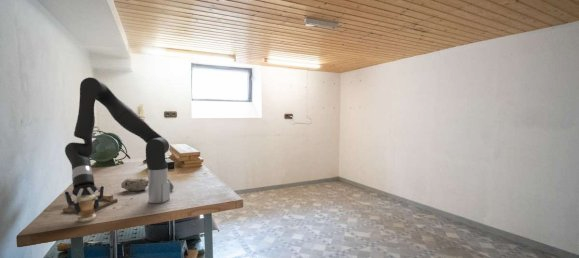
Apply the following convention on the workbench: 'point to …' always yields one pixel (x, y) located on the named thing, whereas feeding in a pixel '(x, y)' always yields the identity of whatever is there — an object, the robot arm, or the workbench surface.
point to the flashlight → (171, 186)
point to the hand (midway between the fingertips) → (87, 210)
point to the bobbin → (86, 208)
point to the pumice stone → (134, 184)
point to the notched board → (103, 203)
